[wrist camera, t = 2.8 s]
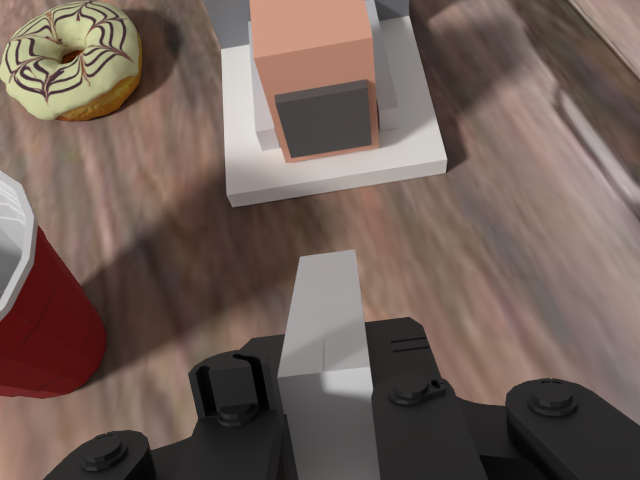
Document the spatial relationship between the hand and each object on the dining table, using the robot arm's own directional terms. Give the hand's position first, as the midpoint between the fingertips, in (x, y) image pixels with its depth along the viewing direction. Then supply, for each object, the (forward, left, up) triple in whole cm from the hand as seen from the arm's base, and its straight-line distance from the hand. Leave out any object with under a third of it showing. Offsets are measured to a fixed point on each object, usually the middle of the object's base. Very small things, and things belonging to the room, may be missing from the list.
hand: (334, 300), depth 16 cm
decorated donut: (+18, -29, -17) cm, 38 cm away
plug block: (0, -18, -15) cm, 24 cm away
